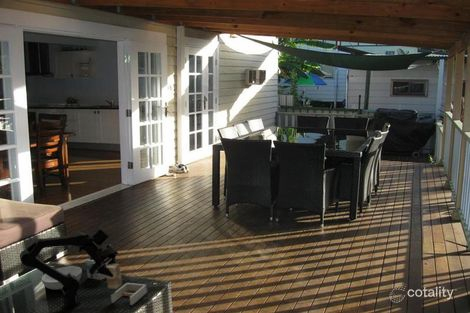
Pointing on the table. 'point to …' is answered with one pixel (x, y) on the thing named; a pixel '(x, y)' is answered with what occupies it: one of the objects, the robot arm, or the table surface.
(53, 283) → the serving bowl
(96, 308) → the table surface
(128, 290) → the trap trough
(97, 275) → the light bulb box
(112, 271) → the maple block
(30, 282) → the table surface
